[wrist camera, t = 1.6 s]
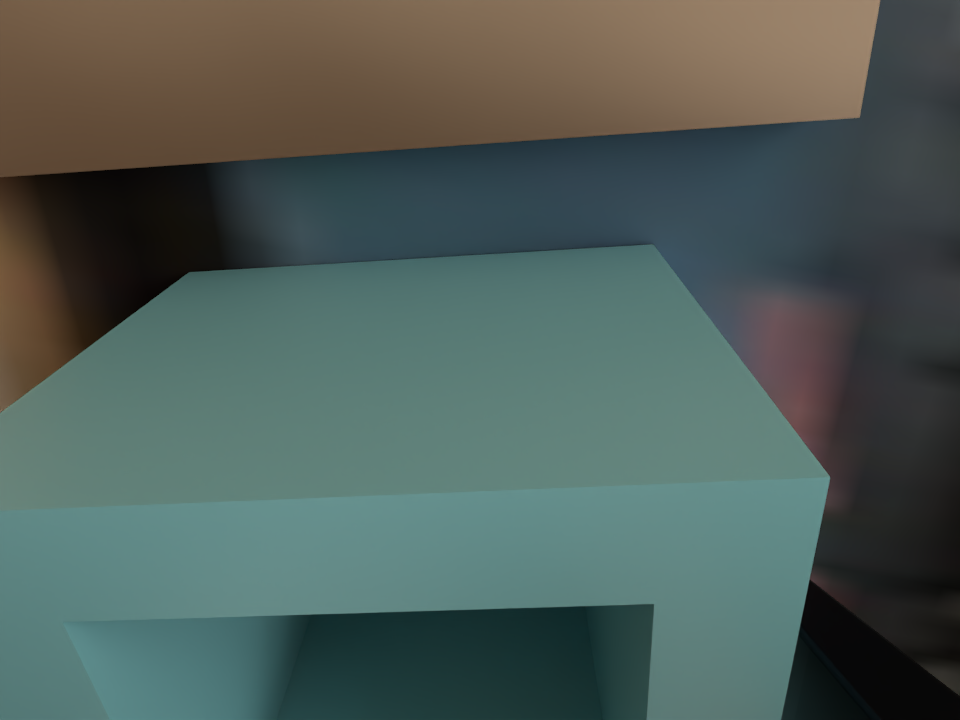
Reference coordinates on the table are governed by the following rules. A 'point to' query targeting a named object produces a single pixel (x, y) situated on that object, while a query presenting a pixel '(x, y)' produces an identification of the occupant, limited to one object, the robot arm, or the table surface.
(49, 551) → the collar
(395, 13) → the post base
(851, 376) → the table surface
